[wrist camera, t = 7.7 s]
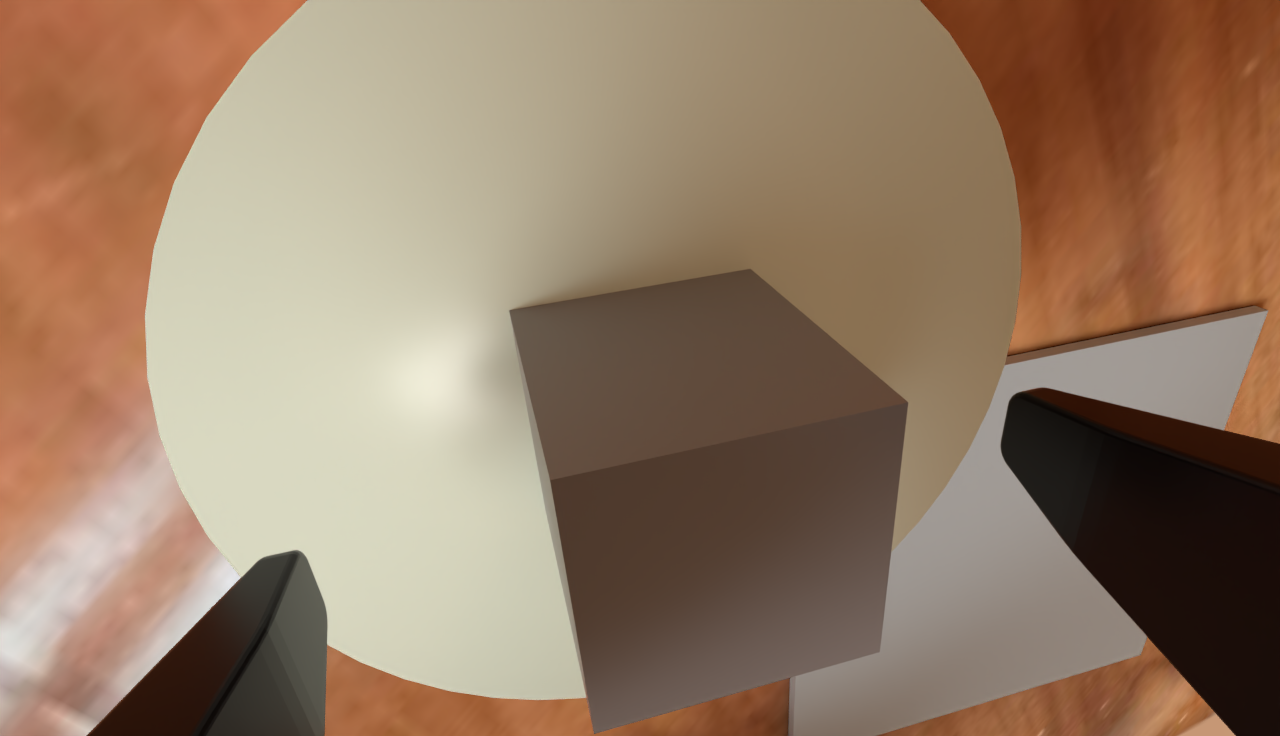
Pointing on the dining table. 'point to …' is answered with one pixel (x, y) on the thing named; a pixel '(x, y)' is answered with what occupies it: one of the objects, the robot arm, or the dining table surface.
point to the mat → (1017, 546)
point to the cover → (587, 330)
